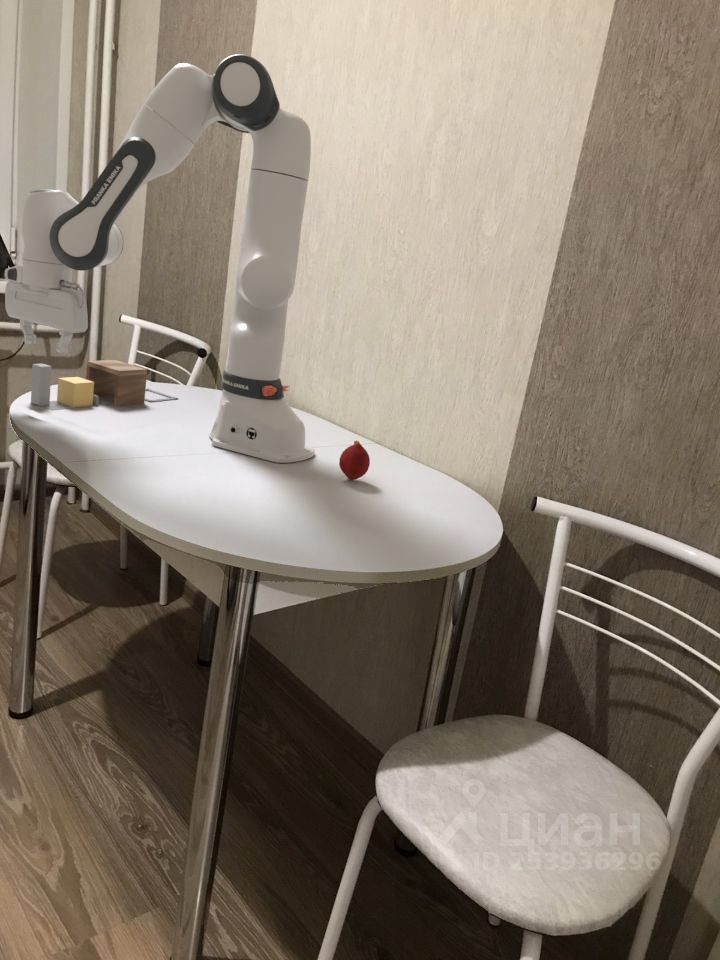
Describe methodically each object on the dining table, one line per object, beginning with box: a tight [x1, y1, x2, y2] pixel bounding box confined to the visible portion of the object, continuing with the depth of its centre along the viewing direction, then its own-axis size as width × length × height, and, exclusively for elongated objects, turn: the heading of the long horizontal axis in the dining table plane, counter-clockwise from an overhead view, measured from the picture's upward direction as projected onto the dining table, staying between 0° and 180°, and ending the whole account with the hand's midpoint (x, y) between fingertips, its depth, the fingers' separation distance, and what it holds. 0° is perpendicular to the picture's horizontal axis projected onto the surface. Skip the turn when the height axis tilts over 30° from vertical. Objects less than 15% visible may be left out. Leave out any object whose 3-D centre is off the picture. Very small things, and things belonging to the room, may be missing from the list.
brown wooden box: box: [85, 359, 148, 407], centre depth 165 cm, size 10×8×9 cm
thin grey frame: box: [144, 388, 179, 403], centre depth 175 cm, size 10×9×2 cm
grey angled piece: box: [30, 363, 111, 411], centre depth 155 cm, size 6×15×9 cm, turn 150°
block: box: [56, 376, 94, 408], centre depth 156 cm, size 5×5×5 cm
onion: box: [338, 440, 371, 482], centre depth 141 cm, size 6×6×8 cm
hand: (45, 347), depth 148 cm, fingers open, 8 cm apart
